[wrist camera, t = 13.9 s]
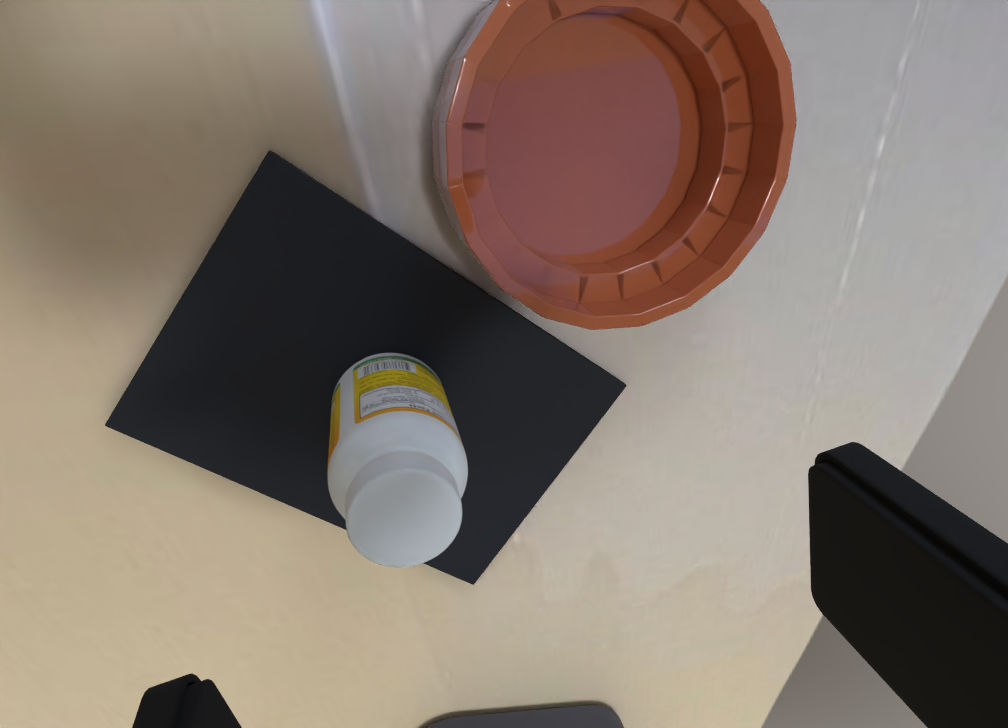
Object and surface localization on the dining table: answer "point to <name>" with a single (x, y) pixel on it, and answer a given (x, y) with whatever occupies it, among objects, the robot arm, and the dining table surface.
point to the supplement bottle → (395, 460)
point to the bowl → (613, 150)
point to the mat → (353, 362)
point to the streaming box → (539, 719)
